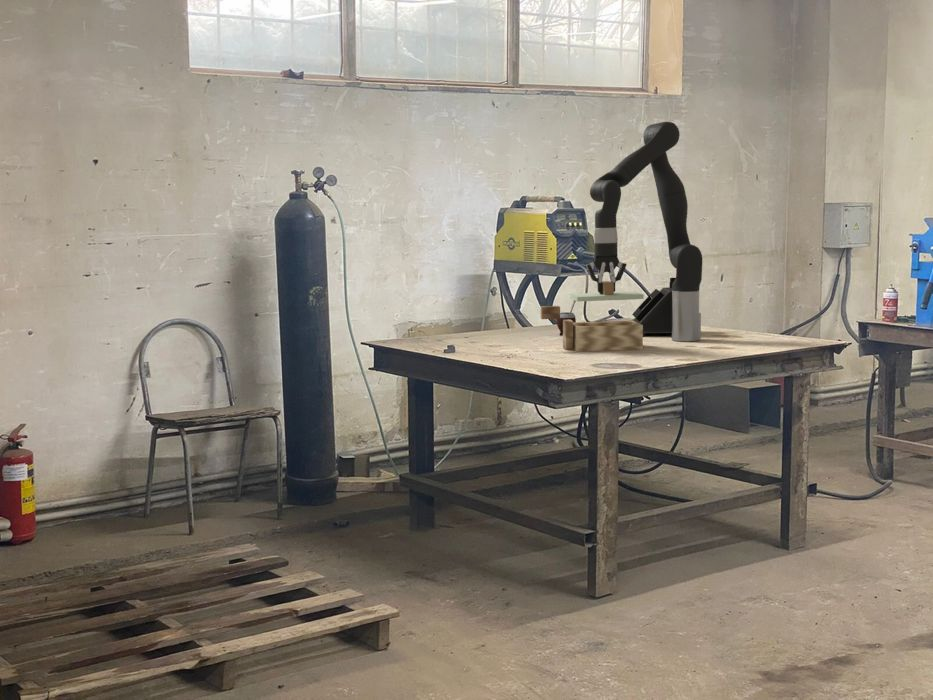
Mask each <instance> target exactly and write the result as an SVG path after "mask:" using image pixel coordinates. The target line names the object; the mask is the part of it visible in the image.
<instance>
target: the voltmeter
mask: <svg viewBox="0 0 933 700" xmlns="http://www.w3.org/2000/svg"><path fill="white" fill-rule="evenodd" d="M675 279H676V277H670V278H669V282H668V283H669V287H662V288H661V289H660V290H658V289H657V288H655V289H654V290H653V291H652V292H651V293H650V294H649V295H648V296H647V297H646V299H645V298H644V301H643V302H641V304H640V305H639V306H638V307H637V308H636V309H635V311H634V312H633V313H632V316H633V317H634V318H633V319H632V321H635V322H637V323H639V324H641V325H643V337H645V336H646V334H664V333H665V334H670V333H671V334H672V291H673V290H672V284H673V282H674V281H675ZM650 296H651V297H652V299H651V298H650Z"/></svg>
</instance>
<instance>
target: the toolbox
mask: <svg viewBox="0 0 933 700" xmlns="http://www.w3.org/2000/svg"><path fill="white" fill-rule="evenodd" d="M643 338H644V336H643V325H641V324H639V323H637V322H635V321H633V320H630V321H629V320H628V321H627V320H626V321H587V322H576V323H573V321H572V320H563V336H562V348H563V349H564V350H565V351H571V350H572V351H576V352H588V351H589V352H591V351H592V352H596V351H597V352H599V351H624V350H625V351H627V350H628V351H631V350H633V351H634V350H635V349H636V350H643V349H644V348H643V346H644V343H643V342H644V341H643Z"/></svg>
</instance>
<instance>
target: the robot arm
mask: <svg viewBox="0 0 933 700" xmlns="http://www.w3.org/2000/svg"><path fill="white" fill-rule="evenodd" d="M680 135H681V134H680V129H679V127H678V126H677V125H676V124H675V123H674V122H672V121H662V122H661V121H660V122H658V123H657V122H656V123H653V124H650V125H647V126H646V128H645V129H644V131H643V144H644V145H642V146H641V147H640V148H638V149H636V150H634V151H633V152H631V153H629V154H628V155H627V156H626V157H624V158H623V159H622V160H621V161H620V162H618V163H617V165H615V167H614V168H613V169H611V170H610V171H608V172H606V173H605V174H603V175H602V176H600V177H599V178H598V179H596V180H594V182H593V183H592V184H591V186H590V188H589V196H590V198H591V199H592V200H593V201H594V202H598V203H603V204H602V207H601V209H599V210H596V211H595V213H594V235H593V236H594V237H593V238H594V239H593V240H594V242H593V243H594V258H593V260H592V262H590V263H587V264H586V265H585V267H586V270H587V271H588V274H589V277H590V279H591V281H594V282H596V283H597V284H596V285H597V293H600V294H603V283H602V281H603V278H604V274H605V273H608V275H609V280H610V282H613V283H614V292H616V283H617V282H619V281H621V279H622V277H623V275H624V272H625V270H626V268H627V263H625V262H621V261H620V260H619V258H618V257H619V256H618V240H619V239H618V230H617V213H618V210H619V206H620V203H621V202H620V201H621V196H622V189H621V188H623V187H626V186H627V185H629V183H631V182H632V181H633V180H634V179H635V178H636V177H637V176H638V175H639V174H640V173H641V172H642V171H644V170H645V169H646V167H648V166H649V165H650V166H651V169H652V174H653V179H654V183H655V187H656V192H657V197H658V202H659V207H660V210H661V211H660V212H661V214H662V215H661V216H662V219H663V224H664V228H665V231H666V238H667V247H668V248H667V249H668V257H669V262H670V264H671V265H672V266H673V268H675V271H676V273H675V278H676V279H675V281H674V282H673V284H672V290H673V291H672V333H671V340H672V341H675V342H696V341H698V342H699V341H701V339H702V338H701V337H702V335H701V333H702V329H701V328H702V326H701V325H702V324H701V323H702V314H701V312H700V286H701V283H702V279H703V278H702V277H703V254H702V251H701V249H700V248H699V247H697V246H696V245H694V244H691V242H690V239H689V234H688V228H687V221H688V211H689V209H688V206H689V205H688V199H687V195H686V190H685V189H686V188H685V186H684V183H683V181H682V180H681V178H680V177H679V176H678V174H677V173H676V172H675V170H674V169H673V168H672V165H671V164H670V162H669V159H668V154H667V152H668V151H670V150H671V149H672V148H674V147H675V146H676V145H677V144H678V143H679V140H680ZM617 266H618V271H617V273H615V269H616V268H617ZM594 267H595V268H596V269H597V275H596V274H595V273H594V272H595V271H594V269H595V268H594ZM596 276H597V277H596Z"/></svg>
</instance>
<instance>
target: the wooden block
mask: <svg viewBox="0 0 933 700" xmlns="http://www.w3.org/2000/svg"><path fill="white" fill-rule="evenodd" d="M560 313H561V306H560V305H544V306H543V305H540V319H541V320H557V319H560Z"/></svg>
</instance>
